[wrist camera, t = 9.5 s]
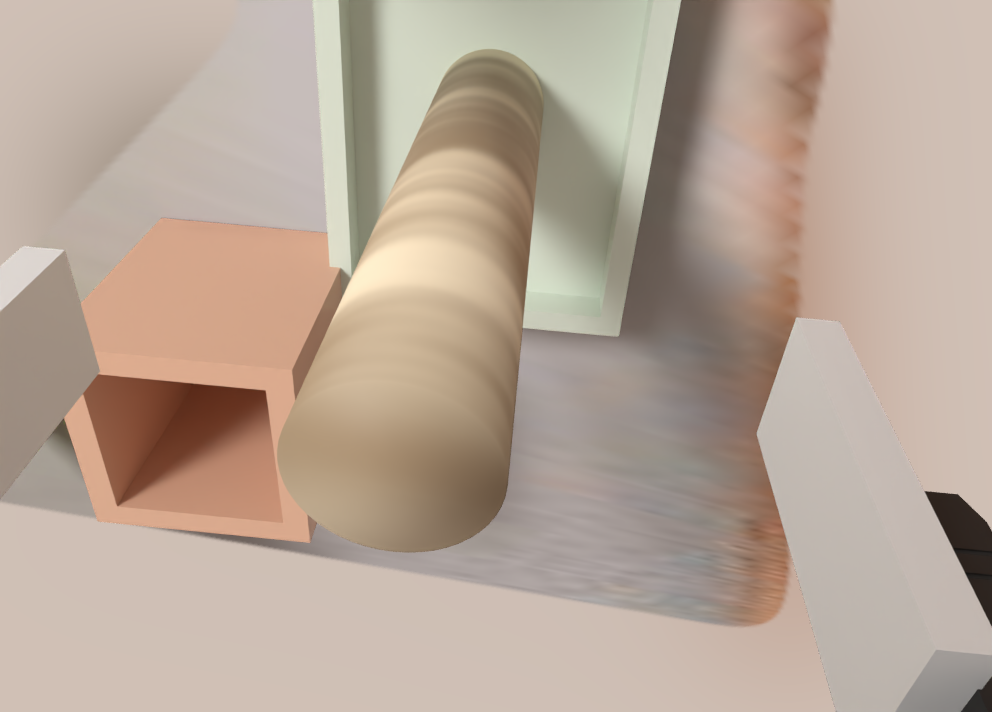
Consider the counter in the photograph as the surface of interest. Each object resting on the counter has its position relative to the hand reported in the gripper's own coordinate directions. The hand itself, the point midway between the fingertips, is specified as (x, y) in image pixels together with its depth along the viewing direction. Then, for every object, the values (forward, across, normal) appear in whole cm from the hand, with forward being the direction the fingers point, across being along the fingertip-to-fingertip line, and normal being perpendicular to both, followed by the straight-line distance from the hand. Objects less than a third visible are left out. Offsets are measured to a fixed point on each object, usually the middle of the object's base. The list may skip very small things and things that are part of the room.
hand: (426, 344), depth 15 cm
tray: (+16, 0, 0) cm, 16 cm away
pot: (+16, -9, -10) cm, 21 cm away
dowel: (+15, 0, 0) cm, 15 cm away
